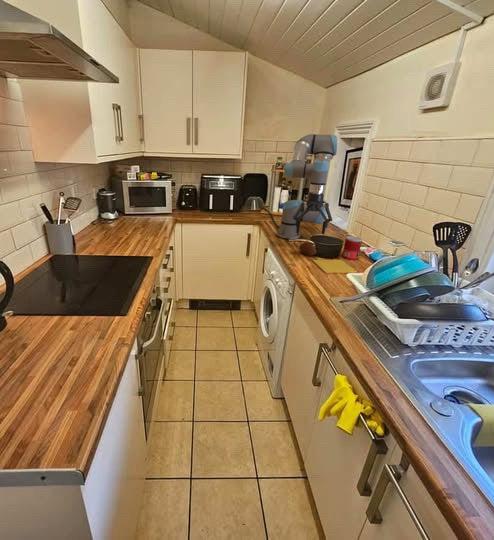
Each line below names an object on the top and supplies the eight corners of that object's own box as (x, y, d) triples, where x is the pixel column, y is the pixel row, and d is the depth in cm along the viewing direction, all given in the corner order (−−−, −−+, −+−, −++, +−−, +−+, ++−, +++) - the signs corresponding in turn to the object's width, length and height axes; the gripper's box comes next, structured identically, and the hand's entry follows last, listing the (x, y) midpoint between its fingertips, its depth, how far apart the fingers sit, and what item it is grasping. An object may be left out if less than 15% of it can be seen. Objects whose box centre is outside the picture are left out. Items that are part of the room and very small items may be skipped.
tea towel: (312, 260, 158) (312, 259, 157) (341, 260, 159) (341, 259, 159) (325, 272, 143) (325, 272, 143) (357, 272, 144) (357, 271, 144)
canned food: (359, 260, 159) (363, 240, 155) (343, 259, 161) (347, 239, 156) (356, 255, 166) (360, 236, 162) (340, 254, 168) (344, 235, 163)
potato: (310, 258, 160) (312, 247, 157) (295, 251, 169) (296, 241, 167) (318, 256, 163) (320, 245, 160) (303, 250, 172) (304, 239, 169)
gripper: (293, 193, 150) (288, 234, 158) (343, 195, 149) (335, 236, 157) (290, 190, 157) (285, 230, 165) (338, 192, 156) (331, 232, 164)
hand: (310, 233), depth 161 cm, fingers open, 13 cm apart
